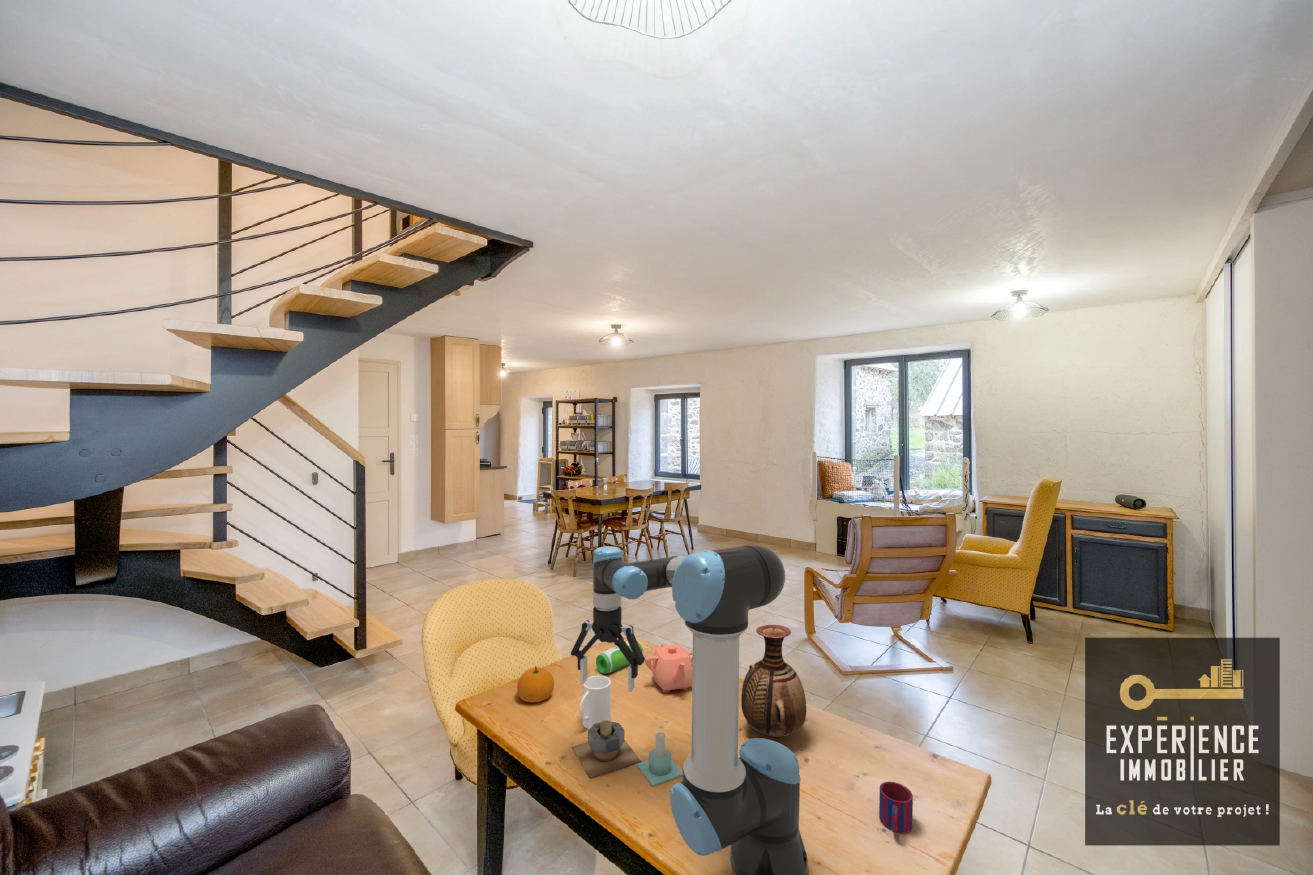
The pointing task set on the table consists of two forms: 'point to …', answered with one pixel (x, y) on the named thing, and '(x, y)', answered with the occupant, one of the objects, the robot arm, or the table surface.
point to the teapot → (671, 667)
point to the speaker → (612, 660)
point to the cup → (896, 807)
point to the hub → (605, 755)
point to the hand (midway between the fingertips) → (607, 685)
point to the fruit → (535, 685)
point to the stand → (660, 764)
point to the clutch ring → (605, 738)
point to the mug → (596, 701)
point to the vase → (773, 689)
